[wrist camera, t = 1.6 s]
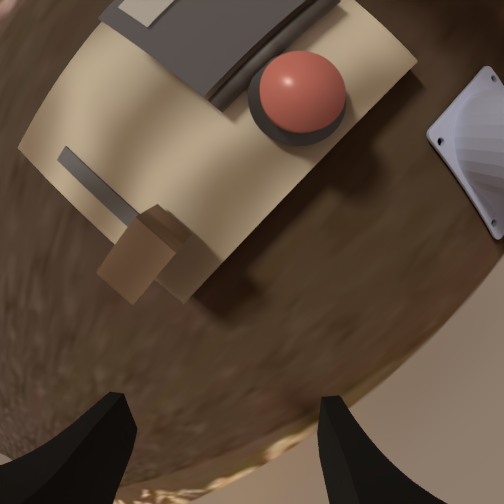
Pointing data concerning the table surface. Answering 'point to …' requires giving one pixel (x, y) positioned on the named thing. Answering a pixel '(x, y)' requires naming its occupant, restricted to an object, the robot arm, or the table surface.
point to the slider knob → (142, 252)
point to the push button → (302, 92)
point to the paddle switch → (196, 32)
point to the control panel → (199, 132)
